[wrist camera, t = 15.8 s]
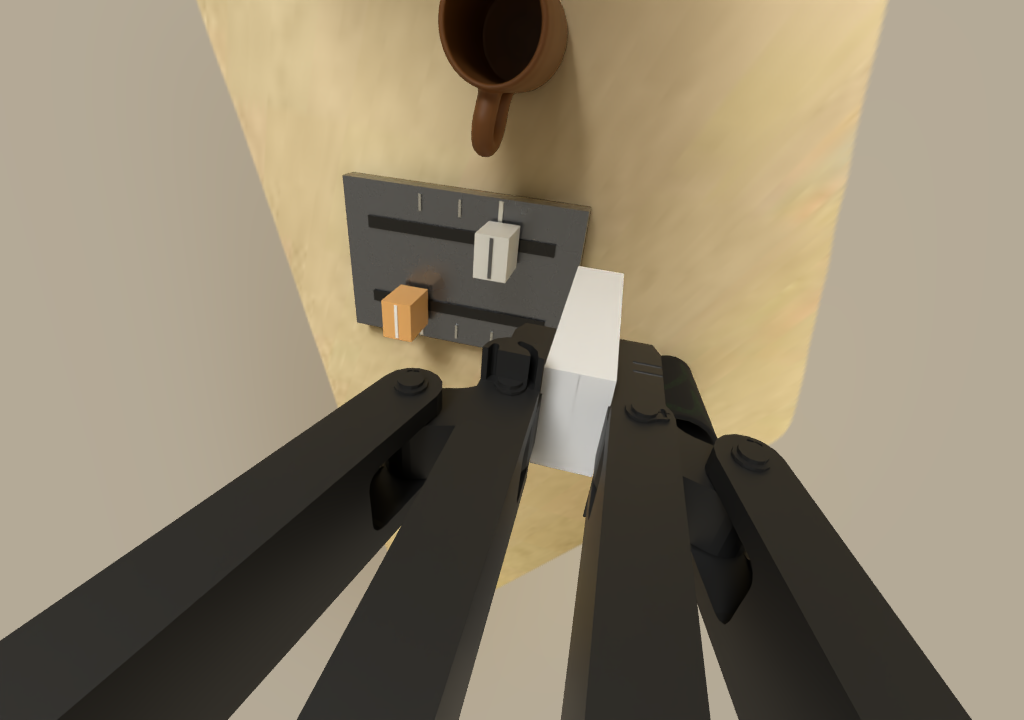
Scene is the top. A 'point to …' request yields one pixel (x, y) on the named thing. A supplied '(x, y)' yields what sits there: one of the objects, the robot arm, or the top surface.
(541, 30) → the mug
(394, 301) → the fader
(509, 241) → the fader
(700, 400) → the cup
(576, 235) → the console
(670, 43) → the top surface
